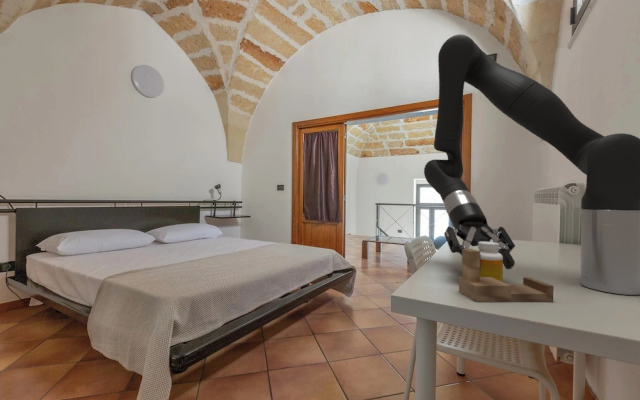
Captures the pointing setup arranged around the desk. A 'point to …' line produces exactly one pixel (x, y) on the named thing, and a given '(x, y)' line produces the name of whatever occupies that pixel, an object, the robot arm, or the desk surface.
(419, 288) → the desk surface
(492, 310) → the desk surface
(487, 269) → the supplement bottle
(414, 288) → the desk surface
